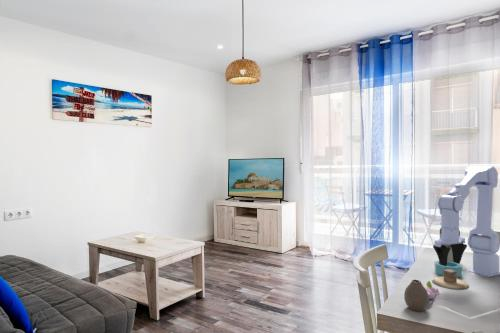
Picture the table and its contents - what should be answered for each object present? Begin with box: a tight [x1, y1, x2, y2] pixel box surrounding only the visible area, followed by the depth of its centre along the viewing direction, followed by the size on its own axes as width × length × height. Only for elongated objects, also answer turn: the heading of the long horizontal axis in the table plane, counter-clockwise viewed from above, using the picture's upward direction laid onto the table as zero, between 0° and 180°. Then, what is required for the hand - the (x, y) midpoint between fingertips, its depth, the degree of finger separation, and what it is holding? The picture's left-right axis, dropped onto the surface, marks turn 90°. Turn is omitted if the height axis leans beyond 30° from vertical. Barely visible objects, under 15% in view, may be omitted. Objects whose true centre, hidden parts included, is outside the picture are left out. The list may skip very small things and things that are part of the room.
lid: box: [432, 269, 469, 290], centre depth 127 cm, size 11×11×5 cm
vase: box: [403, 279, 430, 312], centre depth 107 cm, size 7×7×9 cm
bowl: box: [434, 260, 463, 278], centre depth 139 cm, size 9×9×4 cm
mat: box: [431, 279, 470, 291], centre depth 127 cm, size 12×12×1 cm
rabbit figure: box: [424, 280, 441, 300], centre depth 115 cm, size 6×6×15 cm
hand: (450, 264), depth 127 cm, fingers open, 7 cm apart
